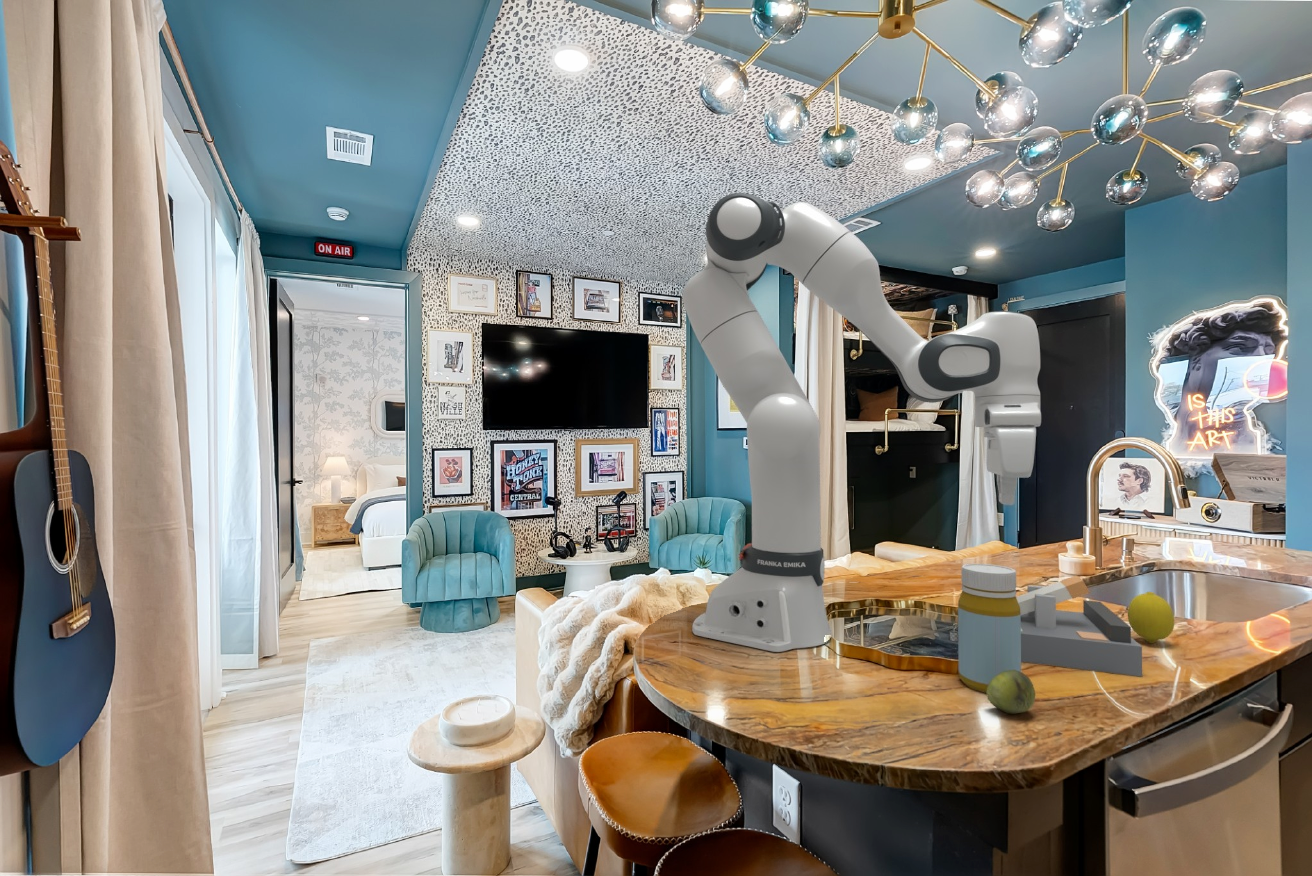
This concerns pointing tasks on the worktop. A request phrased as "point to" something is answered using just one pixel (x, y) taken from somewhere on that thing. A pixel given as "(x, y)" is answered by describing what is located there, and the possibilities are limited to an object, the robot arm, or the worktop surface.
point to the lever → (1054, 593)
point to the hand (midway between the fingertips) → (1006, 504)
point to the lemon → (1151, 617)
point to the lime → (1011, 692)
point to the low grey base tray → (1078, 638)
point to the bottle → (988, 624)
